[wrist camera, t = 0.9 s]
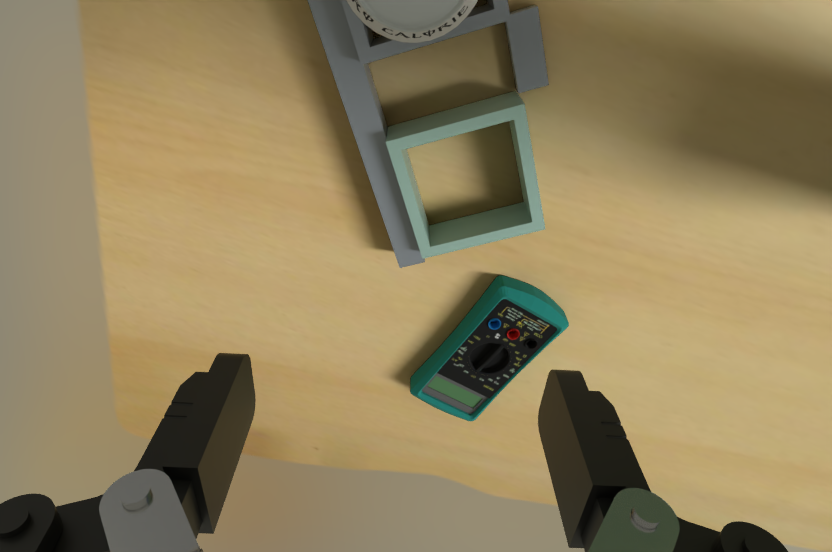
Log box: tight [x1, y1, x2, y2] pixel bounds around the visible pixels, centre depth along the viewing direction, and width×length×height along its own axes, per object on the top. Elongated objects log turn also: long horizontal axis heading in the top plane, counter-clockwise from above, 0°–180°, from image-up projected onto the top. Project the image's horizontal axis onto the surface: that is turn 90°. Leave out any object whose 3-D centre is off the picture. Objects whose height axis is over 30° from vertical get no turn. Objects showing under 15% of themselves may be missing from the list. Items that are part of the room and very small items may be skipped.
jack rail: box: [308, 0, 549, 268], centre depth 34 cm, size 13×25×4 cm, turn 16°
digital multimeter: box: [410, 275, 569, 421], centre depth 47 cm, size 7×15×3 cm, turn 147°
